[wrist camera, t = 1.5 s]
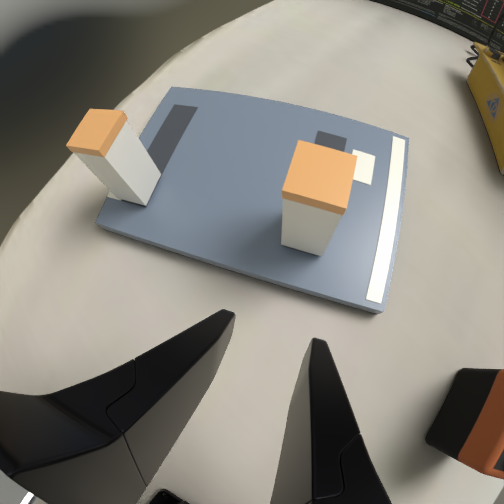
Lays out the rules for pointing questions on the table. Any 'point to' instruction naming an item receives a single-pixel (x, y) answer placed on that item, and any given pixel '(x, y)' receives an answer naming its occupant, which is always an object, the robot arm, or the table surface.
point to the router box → (460, 17)
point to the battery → (473, 421)
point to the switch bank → (265, 193)
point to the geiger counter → (490, 92)
